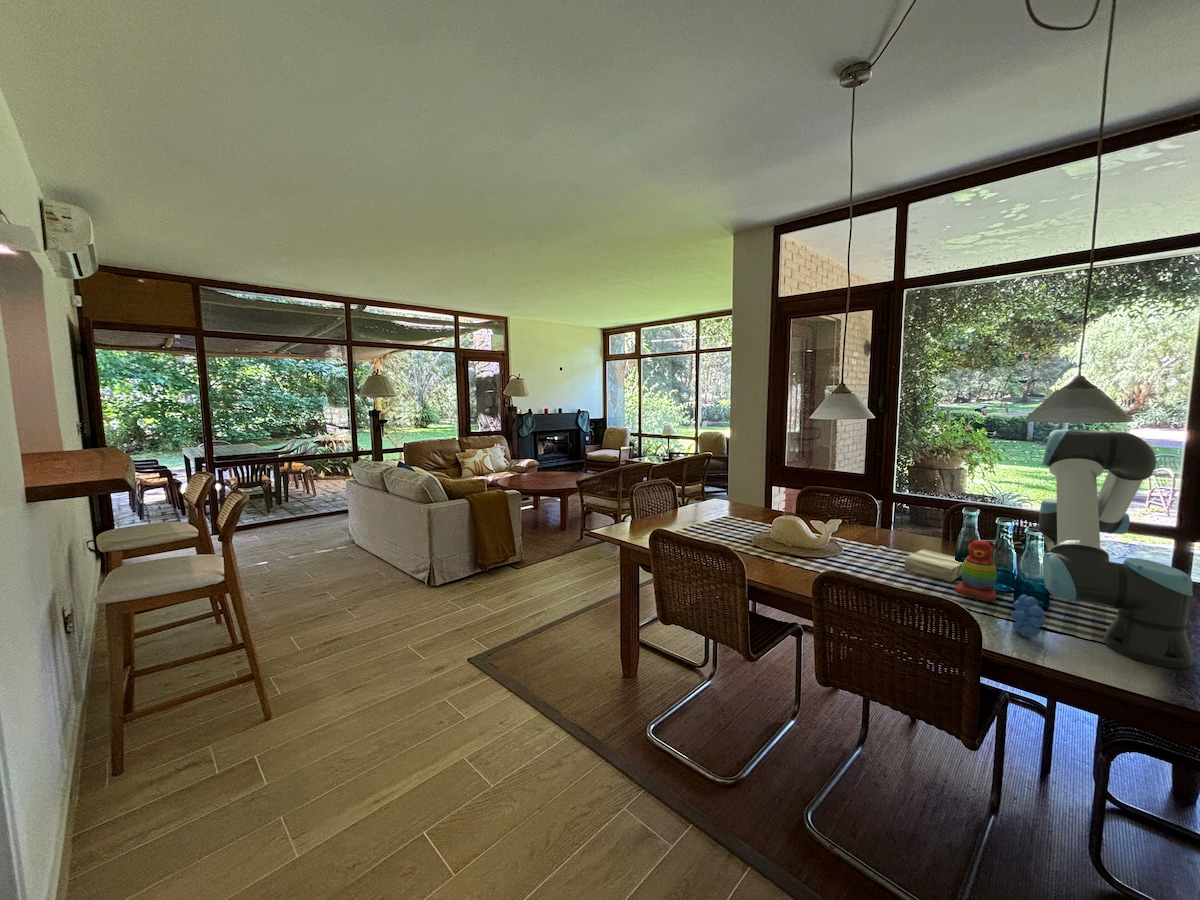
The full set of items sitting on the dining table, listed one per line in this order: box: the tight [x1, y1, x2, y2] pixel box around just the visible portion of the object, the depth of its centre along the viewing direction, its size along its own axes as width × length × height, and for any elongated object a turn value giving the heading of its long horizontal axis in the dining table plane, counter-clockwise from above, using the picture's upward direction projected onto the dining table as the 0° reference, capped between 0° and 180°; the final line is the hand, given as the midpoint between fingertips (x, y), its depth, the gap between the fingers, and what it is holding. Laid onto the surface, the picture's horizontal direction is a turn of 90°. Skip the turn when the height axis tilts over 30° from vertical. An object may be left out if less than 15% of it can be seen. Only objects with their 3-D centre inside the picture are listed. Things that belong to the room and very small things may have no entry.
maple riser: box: [904, 548, 963, 582], centre depth 181 cm, size 15×15×5 cm
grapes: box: [1010, 594, 1047, 638], centre depth 133 cm, size 12×7×12 cm, turn 165°
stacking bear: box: [954, 538, 998, 601], centre depth 161 cm, size 11×10×18 cm
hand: (997, 555), depth 165 cm, fingers open, 13 cm apart
